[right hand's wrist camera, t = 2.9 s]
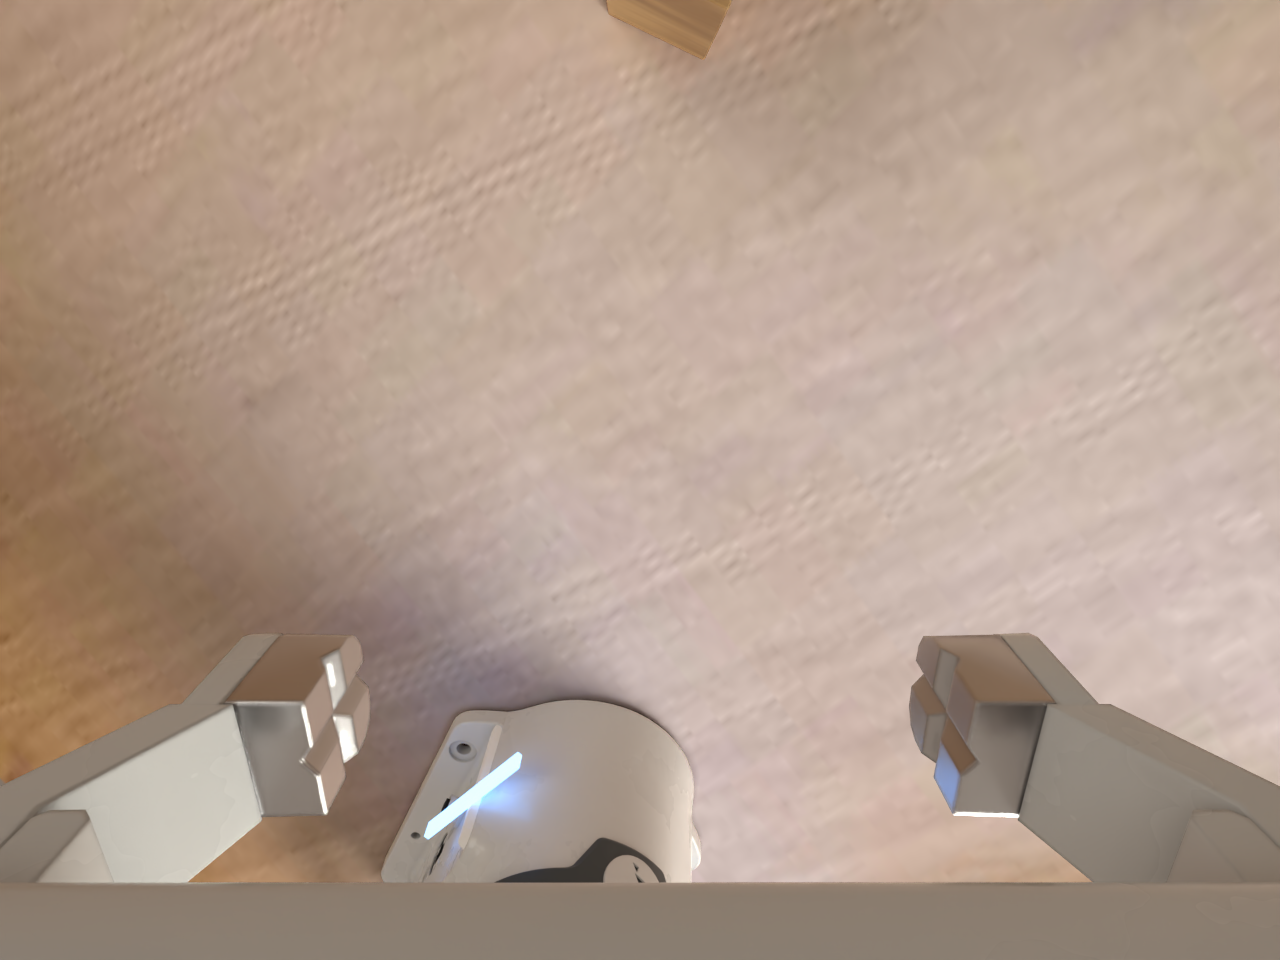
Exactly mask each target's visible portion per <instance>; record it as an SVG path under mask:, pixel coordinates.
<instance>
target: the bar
mask: <svg viewBox="0 0 1280 960" xmlns="http://www.w3.org/2000/svg"><path fill="white" fill-rule="evenodd" d="M731 1H732V0H606V3H607V8H608V14H609V15H611V16H613V17H615V18H618V19H620V20H622V21H624V22H626V23H628V24H630V25H632V26H634V27H636V28H638V29H640V30H642V31H644V32H646V33H649V34H651V35H653V36H655V37H657V38H659V39H661V40H663V41H665V42H667V43H669V44H671V45H673V46H675V47H677V48H680V49H682V50H684V51H686V52H688V53H690V54H692V55H694V56H696V57H698V58H700V59H702V60H704V59H705V57H706V55H707V53H708V51H709V49H710V47H711V45H712V43H713V41H714V38H715V36H716V34H717V32H718V30H719V28H720V26H721V24H722V22H723V19H724V17H725V15H726V13H727V11H728V9H729V7H730V4H731Z"/></svg>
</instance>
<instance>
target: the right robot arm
mask: <svg viewBox="0 0 1280 960" xmlns="http://www.w3.org/2000/svg"><path fill="white" fill-rule="evenodd" d="M363 661H364V658H363V653H362V648H361V644H360V641H359V640H358V639H357V638H356V637H355V636H354V635H325V634H282V633H272V634H250V635H246V636H243V637H242V638H241V639H240V640H239V641H238V643H237V644H236V645H235V646H234V647H233V648H232V649H231V650H230V651H229V652H228V653H227V655H226V656H225V657H224V658H223V659H222V660H221V661H220V662H219V663H218V664H217V665H216V667H215V668H214V669H213V670H212V671H211V672H210V673H209V674H208V675H207V676H206V677H205V679H204V680H203V681H202V682H201V683H200V684H199V685H198V686H197V687H196V688H195V689H194V690H193V692H192V693H191V694H190V695H189V696H188V697H187V698H186V699H185V700H184V701H183V702H182V704H169V705H167V706H165V707H163V708H161V709H159V710H157V711H154V712H152V713H150V714H148V715H146V716H144V717H142V718H140V719H138V720H136V721H134V722H132V723H130V724H128V725H126V726H123V727H121V728H119V729H117V730H115V731H113V732H111V733H109V734H107V735H105V736H103V737H101V738H99V739H97V740H95V741H93V742H90V743H88V744H86V745H84V746H82V747H80V748H78V749H76V750H74V751H72V752H70V753H68V754H66V755H64V756H62V757H60V758H57V759H55V760H53V761H51V762H49V763H47V764H45V765H43V766H41V767H39V768H37V769H35V770H33V771H31V772H29V773H26V774H24V775H22V776H20V777H18V778H16V779H14V780H12V781H10V782H8V783H6V784H4V785H2V786H0V960H1280V786H1278V785H1276V784H1274V783H1272V782H1270V781H1268V780H1265V779H1263V778H1261V777H1259V776H1257V775H1255V774H1253V773H1251V772H1249V771H1247V770H1245V769H1243V768H1241V767H1239V766H1237V765H1235V764H1233V763H1230V762H1228V761H1226V760H1224V759H1222V758H1220V757H1218V756H1216V755H1214V754H1212V753H1210V752H1208V751H1206V750H1204V749H1202V748H1200V747H1198V746H1195V745H1193V744H1191V743H1189V742H1187V741H1185V740H1183V739H1181V738H1179V737H1177V736H1175V735H1173V734H1171V733H1169V732H1167V731H1165V730H1163V729H1160V728H1158V727H1156V726H1154V725H1152V724H1150V723H1148V722H1146V721H1144V720H1142V719H1140V718H1138V717H1136V716H1134V715H1132V714H1130V713H1128V712H1126V711H1123V710H1121V709H1119V708H1117V707H1115V706H1113V705H1111V704H1098V703H1097V701H1096V700H1095V699H1094V698H1093V697H1092V696H1091V695H1090V694H1089V693H1088V692H1087V691H1086V689H1085V688H1084V687H1083V686H1082V685H1081V684H1080V683H1079V682H1078V681H1077V680H1076V679H1075V677H1074V676H1073V675H1072V674H1071V673H1070V672H1069V671H1068V670H1067V669H1066V668H1065V666H1064V665H1063V664H1062V663H1061V662H1060V661H1059V660H1058V659H1057V658H1056V657H1055V656H1054V654H1053V653H1052V652H1051V651H1050V650H1049V649H1048V648H1047V647H1046V646H1045V645H1044V644H1043V642H1042V641H1041V640H1040V639H1039V638H1038V637H1036V636H1034V635H1032V634H1030V633H1015V634H993V635H956V636H923V638H922V640H921V642H920V644H919V647H918V652H917V658H916V661H917V663H918V665H919V667H920V668H921V670H922V672H923V673H924V674H923V675H922V676H921V677H920V678H919V679H918V680H917V681H916V682H915V683H914V684H913V685H912V687H911V695H910V703H909V711H910V723H911V728H912V731H913V735H914V738H915V741H916V743H917V745H918V747H919V749H920V751H921V753H922V754H924V755H925V756H926V757H928V758H929V759H931V760H932V761H934V762H935V763H936V767H935V772H934V779H935V781H936V783H937V785H938V786H939V788H940V790H941V792H942V794H943V796H944V798H945V800H946V802H947V804H948V806H949V808H950V810H951V812H952V813H953V815H961V816H997V817H1018V821H1020V822H1021V823H1022V824H1023V825H1024V826H1026V827H1027V828H1028V829H1029V830H1031V831H1032V832H1033V833H1034V834H1035V835H1037V836H1038V837H1039V838H1040V839H1041V840H1043V841H1044V842H1045V843H1046V844H1047V845H1049V846H1050V847H1051V848H1052V849H1054V850H1055V851H1056V852H1057V853H1058V854H1060V855H1061V856H1062V857H1063V858H1064V859H1066V860H1067V861H1068V862H1069V863H1070V864H1072V865H1073V866H1074V867H1075V868H1077V869H1078V870H1079V871H1080V872H1081V873H1083V874H1084V875H1085V876H1086V877H1087V878H1089V879H1090V880H1091V881H1092V882H1082V883H863V882H705V883H691V871H692V870H694V869H695V868H696V867H697V866H698V865H699V863H700V860H701V843H700V839H699V836H698V833H697V831H696V828H695V826H694V824H693V822H692V808H693V799H694V781H693V775H692V771H691V768H690V765H689V762H688V760H687V758H686V756H685V754H684V753H683V751H682V749H681V748H680V747H679V745H678V744H677V743H676V741H675V740H674V739H673V738H672V737H671V736H670V735H669V734H668V733H667V732H666V731H665V730H664V729H662V728H661V727H660V726H658V725H657V724H656V723H654V722H653V721H651V720H650V719H648V718H646V717H644V716H643V715H640V714H638V713H636V712H634V711H632V710H629V709H627V708H624V707H621V706H617V705H614V704H610V703H605V702H599V701H591V700H562V701H554V702H548V703H543V704H539V705H536V706H532V707H529V708H525V709H521V710H517V711H510V712H505V711H491V710H471V711H466V712H463V713H461V714H459V715H458V716H457V717H456V718H455V719H454V721H453V723H452V725H451V727H450V729H449V731H448V733H447V735H446V737H445V739H444V741H443V743H442V745H441V747H440V749H439V751H438V753H437V755H436V757H435V759H434V761H433V763H432V765H431V767H430V769H429V771H428V773H427V775H426V777H425V779H424V781H423V783H422V785H421V787H420V789H419V791H418V793H417V795H416V797H415V799H414V801H413V803H412V805H411V807H410V809H409V811H408V813H407V815H406V817H405V819H404V821H403V823H402V825H401V827H400V829H399V831H398V833H397V835H396V837H395V839H394V841H393V843H392V845H391V847H390V849H389V851H388V853H387V855H386V858H385V861H384V864H383V868H382V871H381V878H382V880H383V881H384V883H187V882H188V881H189V880H190V879H192V878H193V877H194V876H195V875H196V874H198V873H199V872H200V871H201V870H202V869H204V868H205V867H206V866H207V865H209V864H210V863H211V862H212V861H213V860H215V859H216V858H217V857H218V856H219V855H221V854H222V853H223V852H224V851H226V850H227V849H228V848H229V847H230V846H232V845H233V844H234V843H235V842H236V841H238V840H239V839H240V838H241V837H243V836H244V835H245V834H246V833H247V832H249V831H250V830H251V829H252V828H253V827H255V826H256V825H257V824H258V823H260V822H261V821H262V818H261V817H282V816H317V815H327V814H328V812H329V810H330V808H331V806H332V804H333V802H334V800H335V798H336V796H337V794H338V792H339V790H340V788H341V786H342V785H343V783H344V781H345V779H346V772H345V767H344V763H345V762H346V761H348V760H349V759H351V758H352V757H354V756H355V755H356V754H358V753H359V751H360V749H361V747H362V745H363V743H364V741H365V739H366V735H367V731H368V726H369V722H370V712H371V700H370V694H369V687H368V685H367V684H366V683H365V682H364V681H363V680H362V679H361V678H360V677H359V676H358V675H357V674H356V673H357V672H358V670H359V668H360V667H361V665H362V663H363ZM462 743H464V744H467V745H469V746H464V745H462Z"/></svg>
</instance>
